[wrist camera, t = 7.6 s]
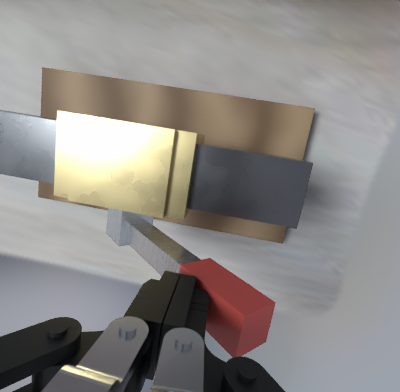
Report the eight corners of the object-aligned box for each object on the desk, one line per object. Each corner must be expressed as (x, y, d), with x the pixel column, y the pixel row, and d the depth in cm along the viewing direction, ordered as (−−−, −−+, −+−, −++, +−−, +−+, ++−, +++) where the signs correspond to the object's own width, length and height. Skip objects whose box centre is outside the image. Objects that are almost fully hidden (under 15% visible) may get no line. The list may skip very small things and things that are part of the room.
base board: (47, 194, 30) (38, 196, 29) (52, 71, 28) (42, 67, 26) (279, 238, 28) (282, 243, 27) (310, 110, 26) (314, 108, 24)
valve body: (57, 163, 28) (-51, 177, 17) (59, 112, 27) (-55, 92, 16) (270, 202, 26) (298, 244, 15) (282, 148, 25) (321, 153, 14)
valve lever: (106, 233, 20) (230, 362, 10) (109, 198, 19) (243, 299, 10) (136, 230, 21) (269, 339, 12) (139, 198, 21) (283, 284, 11)
